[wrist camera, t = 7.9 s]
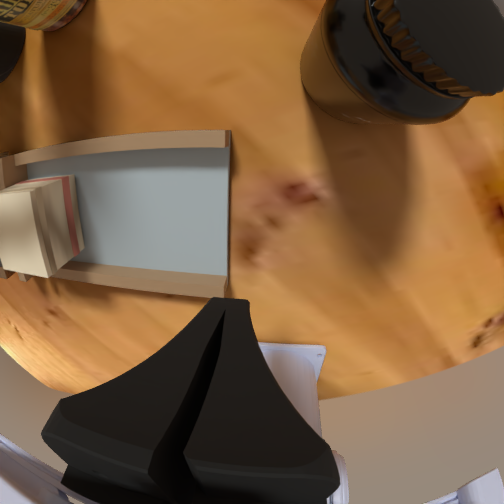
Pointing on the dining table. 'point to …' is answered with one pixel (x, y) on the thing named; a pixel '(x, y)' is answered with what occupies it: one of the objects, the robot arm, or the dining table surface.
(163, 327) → the dining table surface
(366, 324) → the dining table surface
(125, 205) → the bay
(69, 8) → the sauce bottle
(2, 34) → the travel mug
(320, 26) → the supplement bottle
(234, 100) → the dining table surface
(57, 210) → the red striped cream box
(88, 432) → the robot arm
